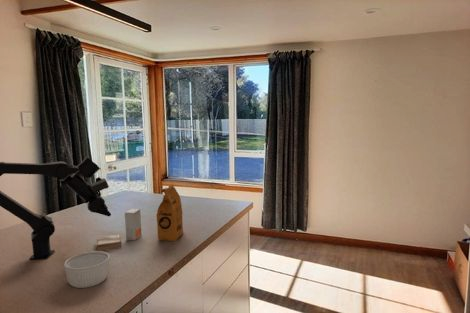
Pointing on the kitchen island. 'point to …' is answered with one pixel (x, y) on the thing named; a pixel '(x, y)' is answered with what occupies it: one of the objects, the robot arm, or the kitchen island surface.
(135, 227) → the skincare box
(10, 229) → the kitchen island surface
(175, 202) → the coffee package
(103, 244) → the plinth
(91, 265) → the ramekin
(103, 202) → the robot arm
